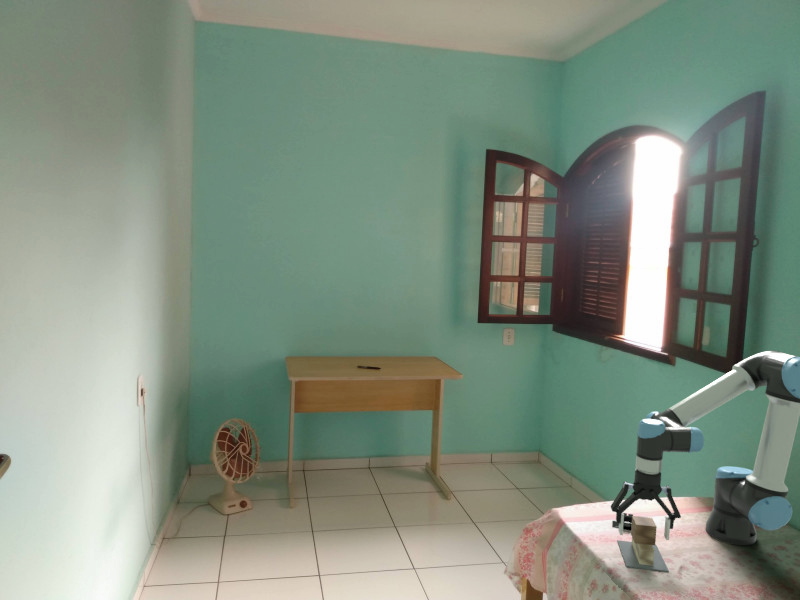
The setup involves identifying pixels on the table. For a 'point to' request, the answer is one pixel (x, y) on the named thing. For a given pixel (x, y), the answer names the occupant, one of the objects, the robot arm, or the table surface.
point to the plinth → (643, 553)
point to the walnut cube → (643, 530)
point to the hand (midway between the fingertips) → (643, 535)
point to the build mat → (633, 562)
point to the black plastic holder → (625, 525)
